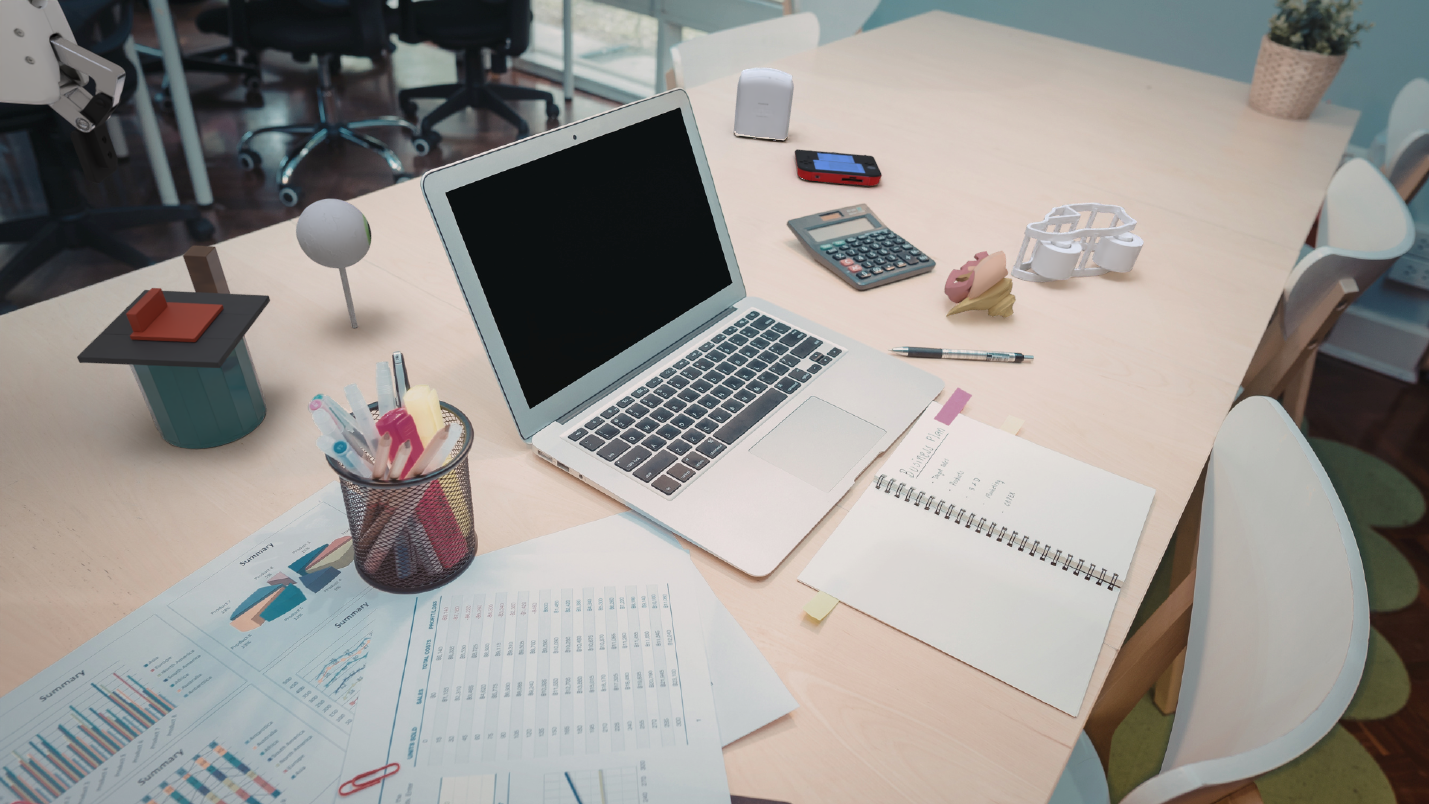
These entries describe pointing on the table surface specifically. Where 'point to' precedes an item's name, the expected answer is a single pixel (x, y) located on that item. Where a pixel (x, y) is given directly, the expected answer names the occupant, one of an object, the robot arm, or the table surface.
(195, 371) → the cup
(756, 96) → the photo printer
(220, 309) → the slider
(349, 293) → the lollipop
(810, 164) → the game console
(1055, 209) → the wheeled car silhouette
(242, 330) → the cup lid
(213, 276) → the peg
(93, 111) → the robot arm
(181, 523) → the table surface
